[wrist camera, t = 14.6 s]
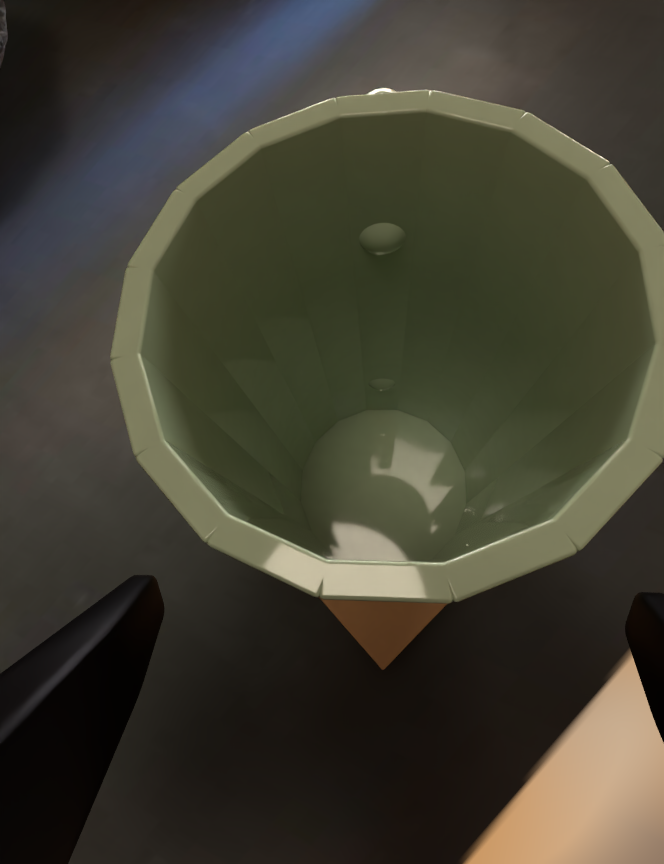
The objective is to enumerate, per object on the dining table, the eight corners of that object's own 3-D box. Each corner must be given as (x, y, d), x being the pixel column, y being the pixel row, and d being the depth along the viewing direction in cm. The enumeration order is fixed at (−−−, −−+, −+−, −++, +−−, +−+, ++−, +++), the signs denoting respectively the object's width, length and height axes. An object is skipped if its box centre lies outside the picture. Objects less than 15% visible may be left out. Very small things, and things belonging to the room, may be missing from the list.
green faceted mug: (479, 586, 17) (753, 613, 4) (289, 580, 17) (66, 591, 5) (464, 334, 20) (605, -79, 7) (302, 338, 20) (177, -33, 8)
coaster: (553, 491, 18) (556, 489, 17) (382, 668, 17) (382, 671, 16) (383, 342, 20) (383, 337, 20) (224, 487, 19) (221, 485, 19)
